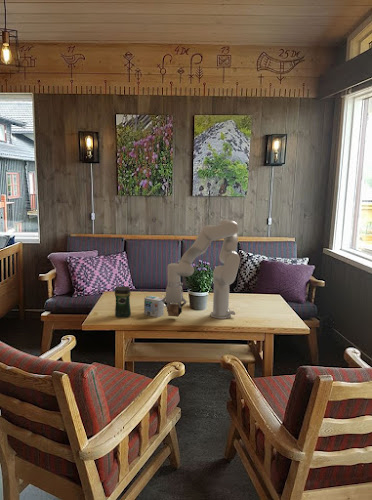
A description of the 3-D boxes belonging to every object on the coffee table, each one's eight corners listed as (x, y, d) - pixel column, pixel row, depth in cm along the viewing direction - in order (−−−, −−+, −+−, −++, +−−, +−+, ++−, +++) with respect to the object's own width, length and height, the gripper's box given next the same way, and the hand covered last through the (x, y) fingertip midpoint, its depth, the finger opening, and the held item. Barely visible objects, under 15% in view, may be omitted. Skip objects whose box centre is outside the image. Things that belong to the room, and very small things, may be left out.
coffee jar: (131, 313, 253) (131, 285, 250) (130, 318, 245) (130, 288, 242) (115, 313, 252) (115, 284, 249) (114, 318, 244) (113, 288, 241)
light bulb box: (143, 314, 252) (143, 297, 250) (149, 311, 258) (149, 295, 256) (158, 317, 247) (158, 300, 246) (164, 314, 253) (164, 297, 251)
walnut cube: (180, 313, 246) (180, 303, 245) (177, 316, 240) (177, 306, 239) (171, 312, 248) (171, 303, 247) (168, 315, 242) (168, 306, 241)
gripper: (189, 283, 242) (189, 312, 245) (162, 281, 247) (162, 310, 250) (186, 286, 235) (186, 316, 238) (158, 284, 240) (158, 314, 243)
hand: (174, 313), depth 244 cm, fingers closed on walnut cube, 6 cm apart
